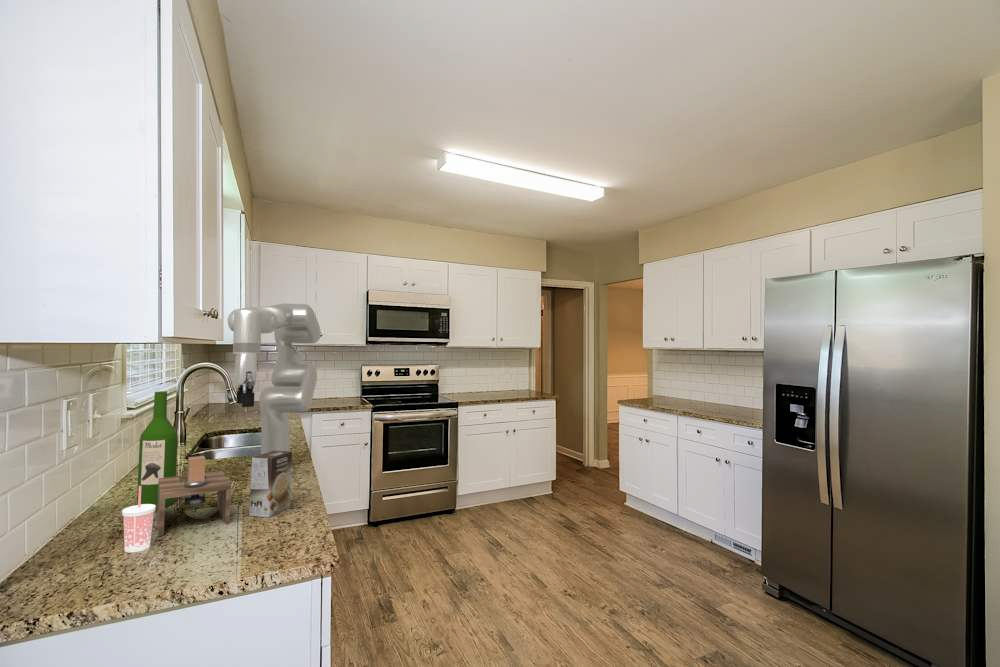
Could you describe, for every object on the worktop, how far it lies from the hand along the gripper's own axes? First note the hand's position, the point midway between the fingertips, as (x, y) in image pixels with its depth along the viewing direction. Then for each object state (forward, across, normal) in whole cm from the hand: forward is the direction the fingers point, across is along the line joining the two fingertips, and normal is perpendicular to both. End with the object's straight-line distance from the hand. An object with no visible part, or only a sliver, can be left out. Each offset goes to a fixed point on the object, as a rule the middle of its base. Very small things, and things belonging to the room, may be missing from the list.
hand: (245, 404), depth 145 cm
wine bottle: (+28, -6, -21) cm, 36 cm away
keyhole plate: (+28, +13, -14) cm, 34 cm away
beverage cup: (+28, +27, -25) cm, 46 cm away
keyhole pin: (+23, +17, -13) cm, 31 cm away
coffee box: (+28, +18, +4) cm, 34 cm away
